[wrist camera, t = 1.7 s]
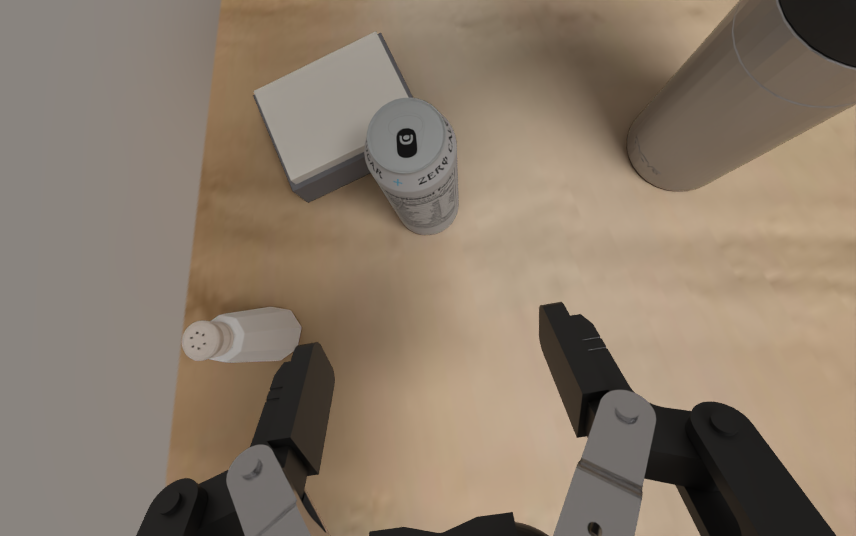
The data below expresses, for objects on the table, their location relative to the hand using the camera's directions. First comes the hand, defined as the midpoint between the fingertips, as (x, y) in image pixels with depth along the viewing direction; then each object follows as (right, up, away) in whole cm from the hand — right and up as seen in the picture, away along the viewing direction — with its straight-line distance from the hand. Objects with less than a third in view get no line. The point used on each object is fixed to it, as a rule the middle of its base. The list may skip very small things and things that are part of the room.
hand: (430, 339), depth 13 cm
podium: (-8, +17, +25) cm, 32 cm away
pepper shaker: (-15, -4, +23) cm, 28 cm away
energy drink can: (0, +9, +24) cm, 25 cm away
